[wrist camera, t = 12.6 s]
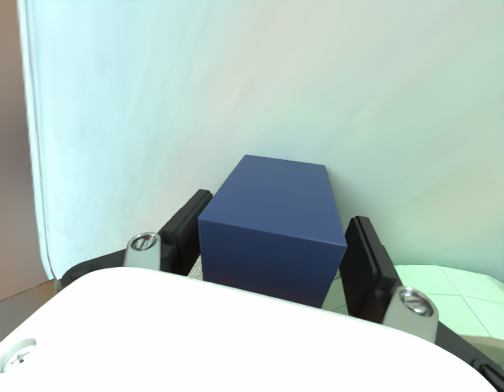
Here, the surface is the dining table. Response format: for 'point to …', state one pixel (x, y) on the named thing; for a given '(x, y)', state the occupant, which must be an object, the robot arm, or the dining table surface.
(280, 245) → the navy blue block
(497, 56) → the dining table surface
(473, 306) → the bowl
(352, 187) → the dining table surface
